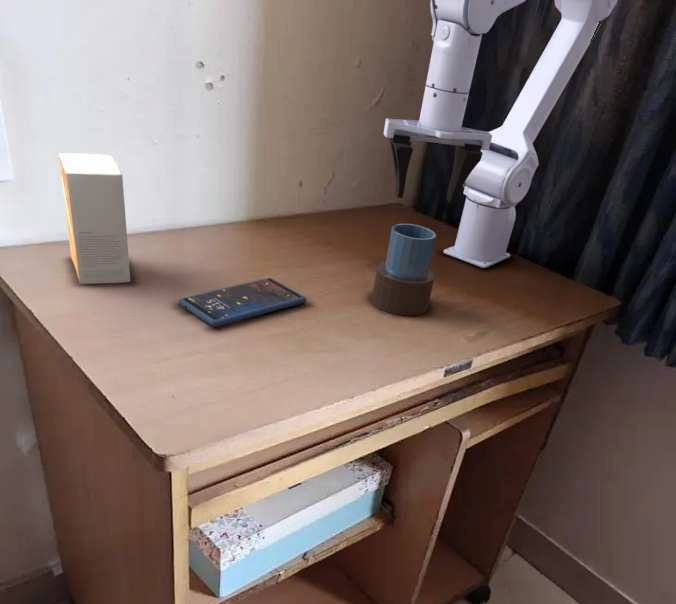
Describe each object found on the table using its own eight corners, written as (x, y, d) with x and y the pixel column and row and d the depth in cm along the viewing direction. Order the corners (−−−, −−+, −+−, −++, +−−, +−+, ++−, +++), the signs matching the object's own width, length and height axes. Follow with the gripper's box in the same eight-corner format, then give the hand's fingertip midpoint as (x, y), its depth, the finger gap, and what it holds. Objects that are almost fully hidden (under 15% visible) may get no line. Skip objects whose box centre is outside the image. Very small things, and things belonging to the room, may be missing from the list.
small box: (71, 259, 88) (57, 152, 79) (120, 258, 90) (112, 154, 82) (78, 285, 82) (65, 172, 74) (131, 283, 85) (123, 173, 76)
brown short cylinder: (392, 287, 95) (398, 256, 92) (437, 306, 92) (445, 274, 89) (360, 300, 90) (365, 267, 87) (407, 321, 87) (414, 287, 84)
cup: (400, 259, 91) (407, 220, 88) (435, 273, 89) (444, 234, 86) (376, 268, 87) (383, 228, 84) (412, 283, 85) (420, 242, 82)
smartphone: (308, 297, 86) (213, 322, 77) (307, 303, 87) (213, 329, 78) (270, 276, 90) (176, 298, 81) (269, 282, 90) (176, 304, 81)
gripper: (399, 86, 82) (380, 201, 90) (509, 102, 84) (480, 212, 93) (389, 77, 87) (371, 186, 96) (493, 92, 90) (467, 197, 98)
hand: (424, 198), depth 95 cm, fingers open, 7 cm apart
